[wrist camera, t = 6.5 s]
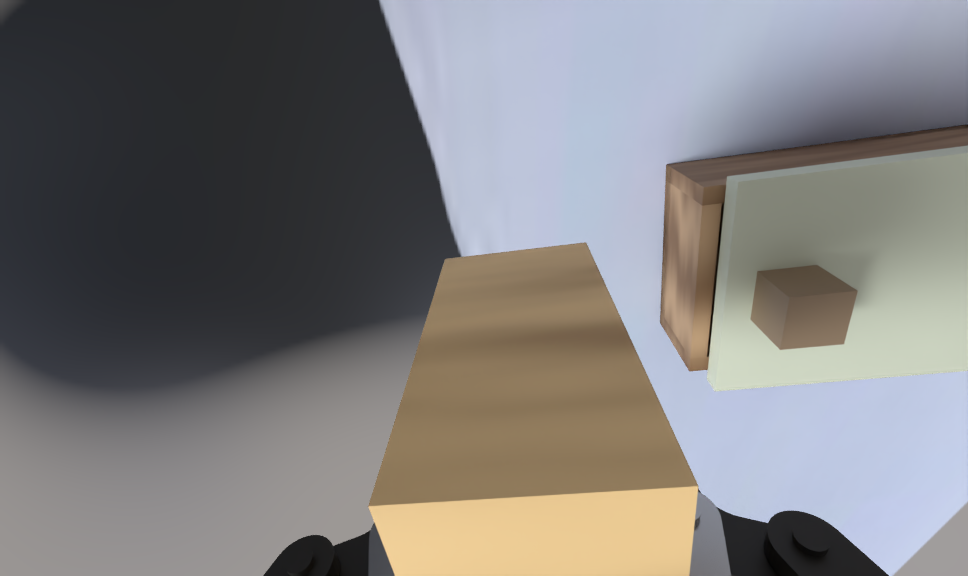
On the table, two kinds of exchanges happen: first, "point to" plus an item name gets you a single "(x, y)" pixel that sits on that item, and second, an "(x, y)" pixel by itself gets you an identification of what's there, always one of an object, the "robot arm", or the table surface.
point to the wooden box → (700, 217)
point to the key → (531, 433)
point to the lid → (843, 272)
